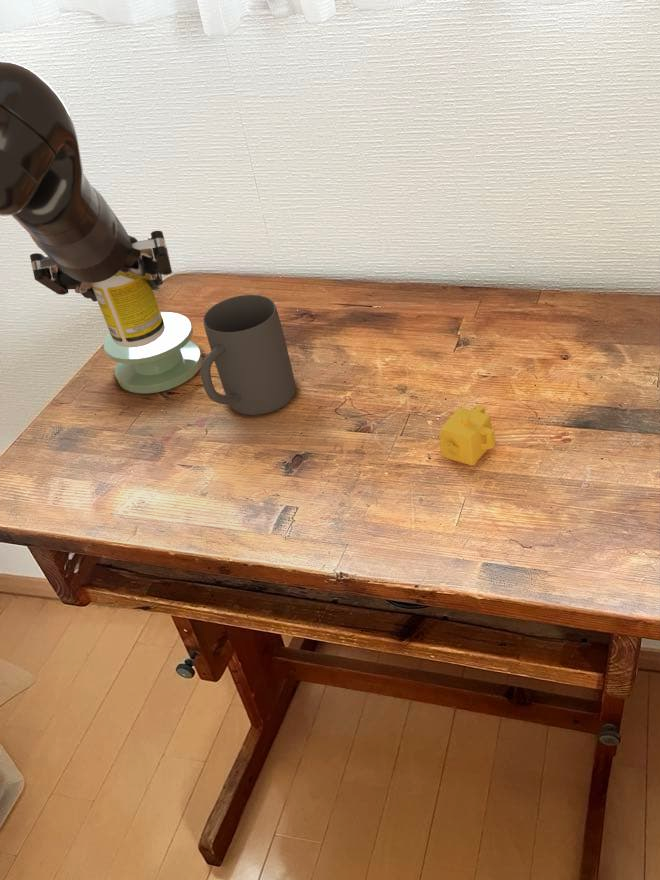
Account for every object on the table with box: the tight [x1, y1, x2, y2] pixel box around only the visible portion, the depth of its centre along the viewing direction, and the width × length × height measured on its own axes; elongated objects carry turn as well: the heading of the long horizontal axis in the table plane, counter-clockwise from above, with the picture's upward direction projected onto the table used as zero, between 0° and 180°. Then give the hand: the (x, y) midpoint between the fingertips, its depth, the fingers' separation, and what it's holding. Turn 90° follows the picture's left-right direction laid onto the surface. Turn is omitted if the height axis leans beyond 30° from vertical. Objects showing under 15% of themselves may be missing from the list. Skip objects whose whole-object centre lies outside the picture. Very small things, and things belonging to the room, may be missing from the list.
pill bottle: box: [92, 275, 165, 348], centre depth 94 cm, size 6×6×11 cm
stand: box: [103, 311, 204, 394], centre depth 114 cm, size 12×12×5 cm
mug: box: [199, 294, 296, 416], centre depth 103 cm, size 14×9×12 cm
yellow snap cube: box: [439, 405, 497, 467], centre depth 93 cm, size 8×6×5 cm
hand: (125, 287), depth 95 cm, fingers closed on pill bottle, 6 cm apart
